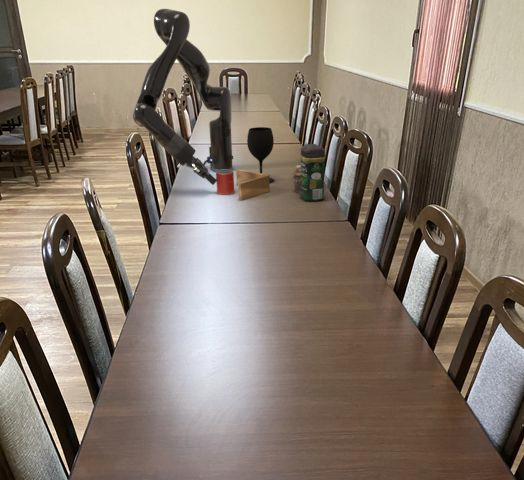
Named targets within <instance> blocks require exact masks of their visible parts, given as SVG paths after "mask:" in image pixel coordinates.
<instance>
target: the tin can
mask: <svg viewBox="0 0 524 480" xmlns="http://www.w3.org/2000/svg"><path fill="white" fill-rule="evenodd" d="M234 175H235V174H234V170H233V169H232V170H219V171H215V179H216V183H215V184H216V193H217V194H218V195H222V196H224V195H226V196H227V195H233V194H234V193H235V176H234Z"/></svg>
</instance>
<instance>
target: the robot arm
mask: <svg viewBox="0 0 524 480" xmlns="http://www.w3.org/2000/svg"><path fill="white" fill-rule="evenodd" d="M153 26H154V31H155V32H156V34H157V36H158V38H159V39H160V40H161V41H162V42H163V43H164V44H165V48H164V50H163V51H162V52H161V54H160V55H159V56H158V57H157V58H156V59H155V60H154V61H153V62H152V63H151V65H150V66H149V67H148V69H147V71H146V73H145V76H144V79H143V83H142V85H141V89H140V94H139V96H138V98H137V101H136V103H135V106H134V109H133V112H132V119H133V121H134V123H135V124H136V125H137V126H138V127H141V128H145V129H146V130H147V131H148V132H149V134H151V135H152V138H153V139H154V140H155V141H156V142H157V143H158V144H159V145H160V146H161V147H162V148H163V149H164V150H165V151H166V152H167V154H168V155H170V156H171V157H172V158H173V159H174V160H175V161H176V162H177V163H178V164H179V165H181V166H182V167H184V166H185V165H186V166H188V167H189V168H190V169H191V170H192V171H193V173H195V174H196V175H198V176H199V177H200V178H202V179H206V181H208V183H210V184H211V185H212V186H214V185H215V184H217V183H216V177H214V176H213V175H212V173H210V171H209V169H208V168H207V167H206V164H210V166H209V167H210V170H211V171H213V172H217V171H219V170H232V171H233V170H234V166H233V165H234V163H233V160H234V156H233V146H232V145H233V140H232V93H231V90H230V89H229V87H227V86H211V84H209V82H208V80H209V77H210V73H211V72H210V71H211V68H210V64H209V62H208V61H207V58H206V56H205V55H204V54H203V52H202V51H201V50H200V49H199V48H198V47H197V46H196V45H194V44H193V43H192V42H191V41H190V40H188V37H189V33H190V30H191V29H190V28H191V22H190V18H189V16H188V15H187V14H186V13H185V12H183V11H179V10H175V9H171V8H160V9H158V10H157V11H156V12H155V14H154V15H153ZM176 60H177V62H178V63H179V65H180V67H181V68H182V69H183V72H184V73H185V74H186V76H187V77H188V79H189V80H190V82H191V83H192V85H193V86H194V88H195V89H196V92H197V94H198V95H199V97H200V100H201V101H202V103H203V105H204V107H205V108H206V109H207V110H208V111H211V112H219V115H218V117H217V118H215V119H212V120H210V121H209V122H208V124H209V125H208V127H209V140H210V141H209V142H210V146H209V147H208V151H209V156H207V157H206V160H204V162H202V160H201V159H199V158H198V157H195V156H194V155H195V154H196V149H195V148H194V147H193V146H192V145H191V144H190V143H189V142H188V141H187V140H186V139H185V138H184V137H183V136H181V135H180V134H179V133H178V132H176V130H175V129H173V128H172V127H171V126H170V125H169V124H168V123H167V122H165V120H164V119H163V118H162V116H161V115H160V114H159V113H158V111H157V107H158V103H159V101H160V99H161V97H162V94H163V91H164V89H165V86H166V83H167V79H168V77H169V74H170V72H171V70H172V68H173V66H174V65H175V63H176Z"/></svg>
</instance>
